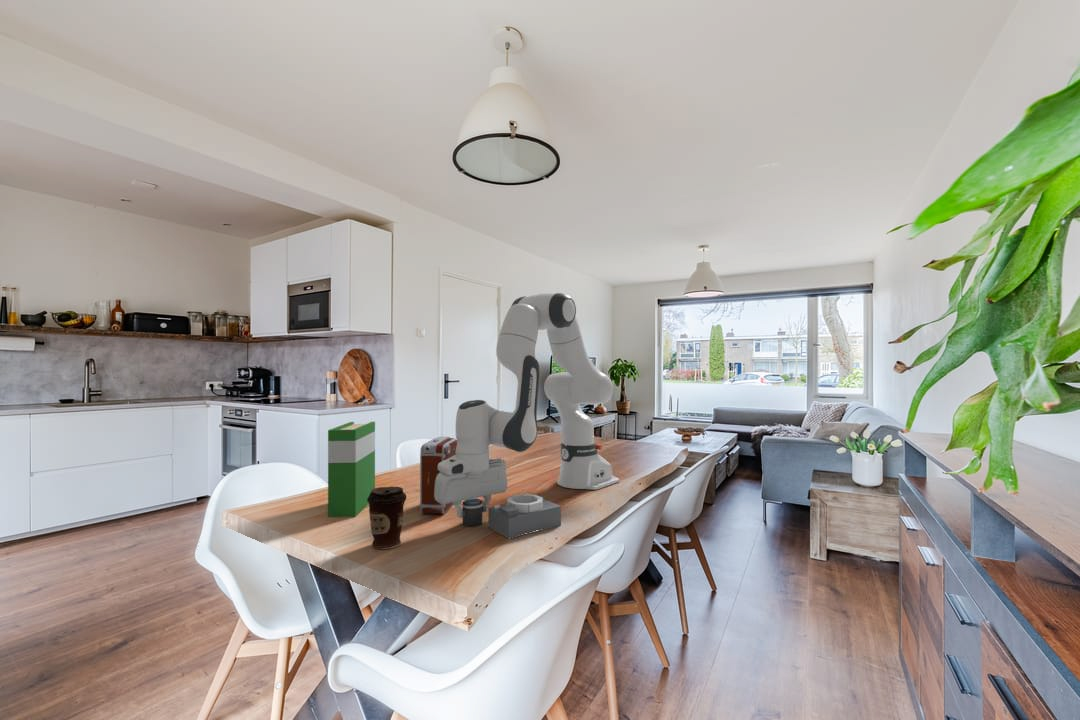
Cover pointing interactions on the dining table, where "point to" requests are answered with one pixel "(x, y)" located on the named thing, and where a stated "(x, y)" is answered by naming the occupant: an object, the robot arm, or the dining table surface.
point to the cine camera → (433, 472)
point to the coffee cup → (386, 516)
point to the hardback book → (350, 468)
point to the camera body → (523, 515)
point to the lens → (472, 512)
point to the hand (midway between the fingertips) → (472, 514)
